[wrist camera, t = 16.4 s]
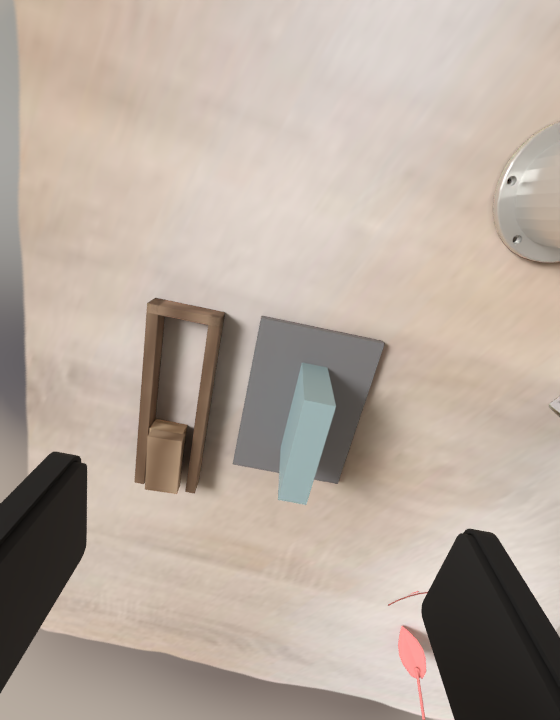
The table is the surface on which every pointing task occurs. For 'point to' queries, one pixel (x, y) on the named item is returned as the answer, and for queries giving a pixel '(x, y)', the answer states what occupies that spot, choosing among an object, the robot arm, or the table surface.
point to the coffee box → (555, 406)
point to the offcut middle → (167, 428)
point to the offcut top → (164, 461)
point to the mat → (278, 382)
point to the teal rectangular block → (305, 433)
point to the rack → (152, 371)
